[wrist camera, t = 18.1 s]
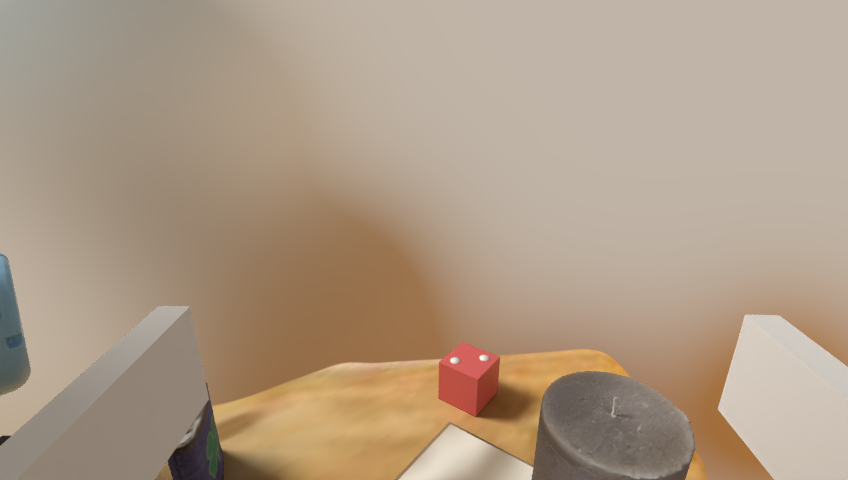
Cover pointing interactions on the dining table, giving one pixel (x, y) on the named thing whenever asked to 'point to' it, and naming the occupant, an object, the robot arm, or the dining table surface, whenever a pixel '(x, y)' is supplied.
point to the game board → (464, 459)
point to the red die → (468, 378)
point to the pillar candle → (610, 431)
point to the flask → (199, 450)
